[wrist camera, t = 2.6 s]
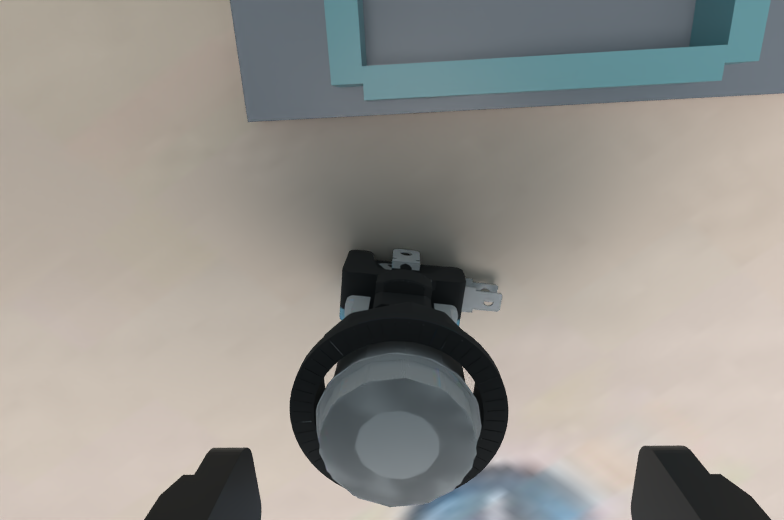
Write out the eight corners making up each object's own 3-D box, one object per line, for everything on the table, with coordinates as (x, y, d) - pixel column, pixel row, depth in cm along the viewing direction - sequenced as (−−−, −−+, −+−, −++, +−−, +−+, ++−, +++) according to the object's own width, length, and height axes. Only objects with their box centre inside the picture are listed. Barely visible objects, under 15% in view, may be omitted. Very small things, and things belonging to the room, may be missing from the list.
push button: (504, 230, 19) (604, 360, 9) (483, 344, 20) (550, 550, 11) (344, 215, 19) (280, 328, 9) (337, 329, 20) (277, 523, 11)
